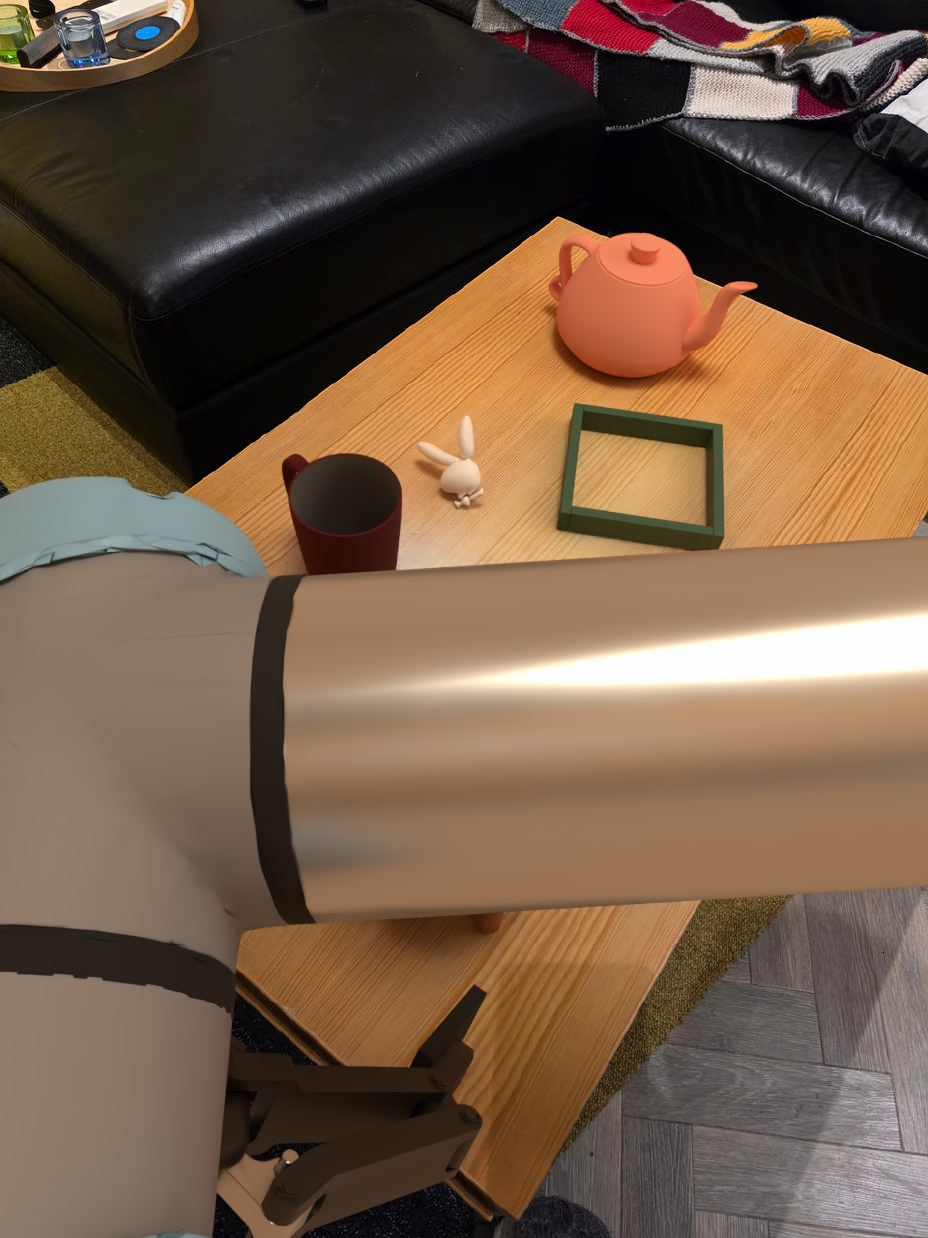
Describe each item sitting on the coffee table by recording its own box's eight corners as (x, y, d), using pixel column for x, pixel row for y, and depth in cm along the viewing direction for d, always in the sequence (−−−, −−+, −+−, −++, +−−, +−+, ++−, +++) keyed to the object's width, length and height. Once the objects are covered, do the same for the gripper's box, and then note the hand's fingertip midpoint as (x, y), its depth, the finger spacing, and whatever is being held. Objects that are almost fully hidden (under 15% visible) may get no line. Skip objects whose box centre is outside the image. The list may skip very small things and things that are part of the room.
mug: (259, 558, 78) (239, 470, 69) (334, 507, 82) (324, 417, 73) (349, 638, 74) (340, 555, 65) (424, 580, 78) (425, 494, 69)
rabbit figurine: (434, 516, 82) (408, 437, 83) (451, 519, 86) (425, 443, 87) (490, 491, 80) (462, 411, 81) (505, 495, 84) (478, 418, 84)
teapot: (748, 348, 99) (787, 247, 89) (689, 426, 91) (724, 324, 81) (578, 276, 105) (596, 174, 95) (510, 343, 97) (521, 239, 87)
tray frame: (715, 442, 90) (723, 423, 88) (716, 554, 81) (724, 536, 79) (570, 420, 91) (574, 402, 89) (556, 529, 82) (560, 511, 80)
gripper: (-290, 1037, 29) (152, 860, 49) (288, 1657, 21) (536, 1148, 41) (-229, 847, 28) (201, 744, 48) (413, 1434, 20) (608, 1018, 40)
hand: (357, 931), depth 44 cm, fingers open, 13 cm apart
